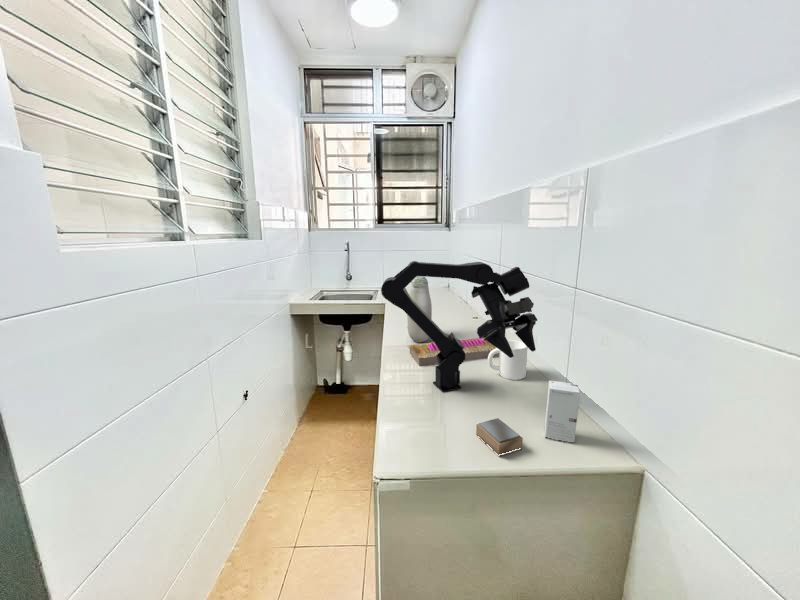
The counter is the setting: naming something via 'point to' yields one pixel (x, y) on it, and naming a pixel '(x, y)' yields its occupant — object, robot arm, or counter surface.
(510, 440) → the block
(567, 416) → the skincare box
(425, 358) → the rafter model
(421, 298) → the glass bottle
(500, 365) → the mug
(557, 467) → the counter surface
